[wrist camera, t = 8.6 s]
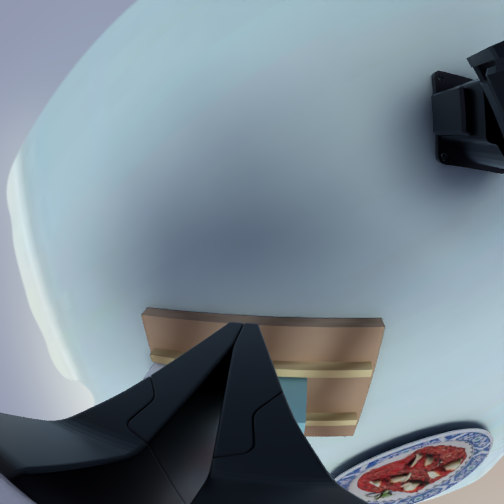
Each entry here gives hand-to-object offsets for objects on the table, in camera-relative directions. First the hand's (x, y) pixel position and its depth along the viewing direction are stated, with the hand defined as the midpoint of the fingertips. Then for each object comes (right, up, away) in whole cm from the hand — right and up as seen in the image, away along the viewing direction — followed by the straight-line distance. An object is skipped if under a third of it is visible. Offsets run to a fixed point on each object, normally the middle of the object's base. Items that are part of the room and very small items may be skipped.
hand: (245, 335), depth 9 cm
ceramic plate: (+23, -29, +20) cm, 42 cm away
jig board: (+1, -9, +16) cm, 18 cm away
